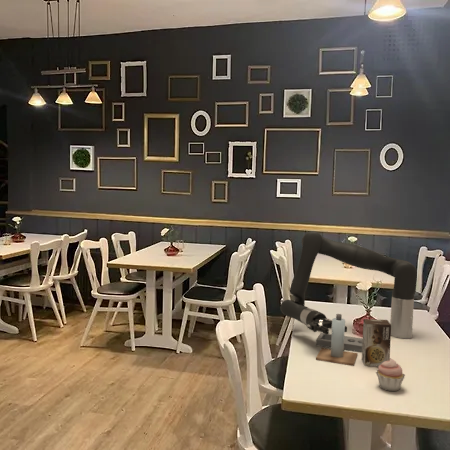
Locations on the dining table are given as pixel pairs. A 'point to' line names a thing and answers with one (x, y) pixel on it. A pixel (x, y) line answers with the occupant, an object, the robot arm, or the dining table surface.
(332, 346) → the pale blue bottle
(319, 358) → the walnut board
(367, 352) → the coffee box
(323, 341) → the grey tray
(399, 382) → the cupcake
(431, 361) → the dining table surface
